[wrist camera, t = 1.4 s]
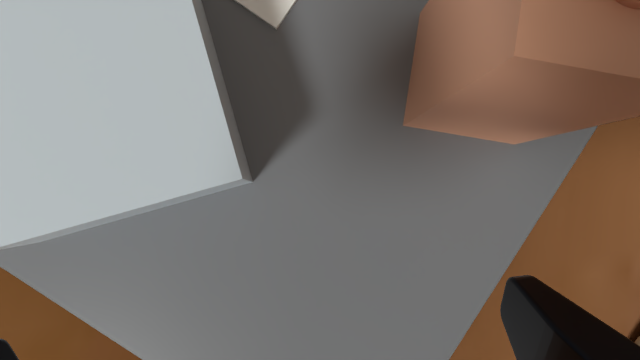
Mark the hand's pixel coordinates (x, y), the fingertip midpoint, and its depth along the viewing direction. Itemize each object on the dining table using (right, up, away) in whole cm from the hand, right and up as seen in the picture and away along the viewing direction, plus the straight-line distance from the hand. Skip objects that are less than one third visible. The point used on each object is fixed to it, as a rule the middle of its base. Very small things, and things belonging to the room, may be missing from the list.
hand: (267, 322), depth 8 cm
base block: (-7, +6, +11) cm, 14 cm away
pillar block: (+7, +7, +12) cm, 16 cm away
